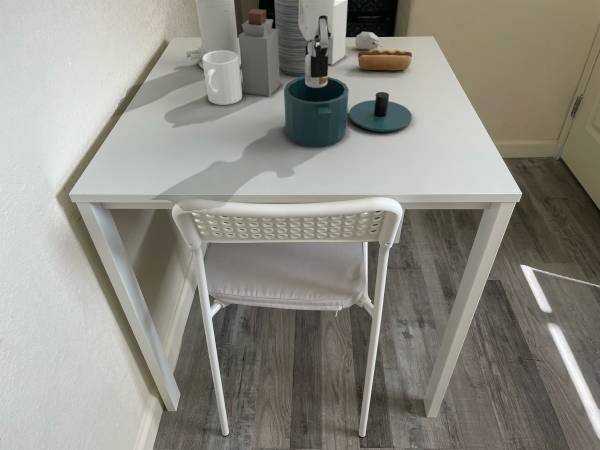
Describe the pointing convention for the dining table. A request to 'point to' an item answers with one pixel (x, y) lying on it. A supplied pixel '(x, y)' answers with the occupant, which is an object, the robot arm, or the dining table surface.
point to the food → (384, 60)
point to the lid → (380, 114)
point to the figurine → (366, 41)
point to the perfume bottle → (259, 54)
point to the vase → (290, 37)
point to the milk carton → (338, 32)
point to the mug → (222, 77)
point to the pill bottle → (309, 80)
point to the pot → (315, 112)
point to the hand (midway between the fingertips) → (316, 70)
